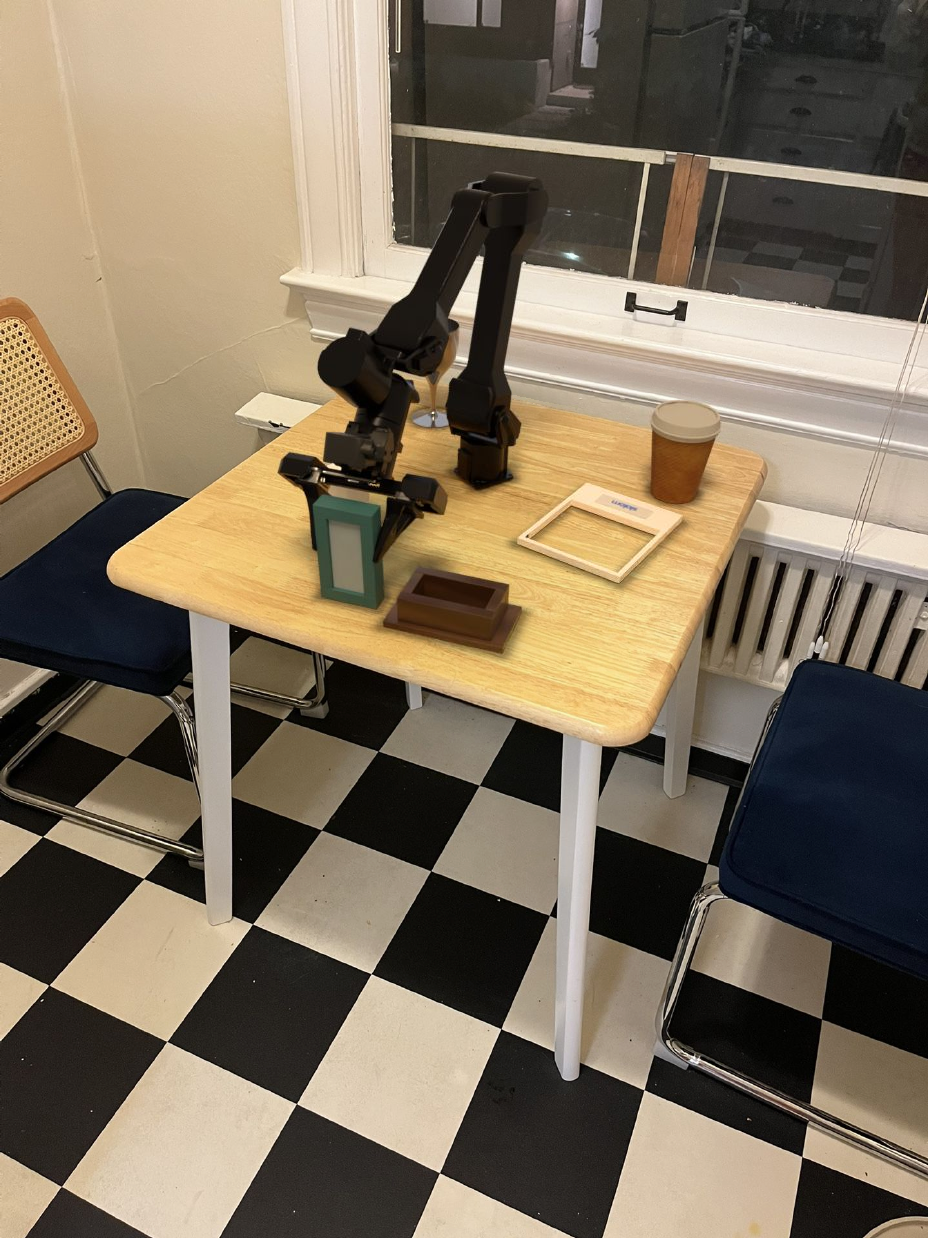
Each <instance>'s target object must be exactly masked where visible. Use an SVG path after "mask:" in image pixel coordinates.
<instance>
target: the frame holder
mask: <svg viewBox="0 0 928 1238" xmlns="http://www.w3.org/2000/svg"><path fill="white" fill-rule="evenodd" d="M509 599H510V584H509V583H506V582H501V581H495V580H492V579H486V578H481V577H476V576H471V575H467V574H461V573H458V572H452V571H447V570H443V569H438V568H433V567H428V566H423V565H417V567H416V568H415V570H414V571H413V573H412V575H410V577H409V579H408V581H407V582H406V583H405V585H404V587H403V588H402V589H401V591H400V592H399V594H398V596H397V597H396V600H395V602H394V604H393V606H392V607H391V609H390V610H389V612H388V613H387V614H386V616H385V618H384V619H383V621H382V625H383V627H384V628H389V629H393V630H397V631H401V632H407V633H411V634H415V635H419V636H424V637H428V638H433V639H437V640H442V641H446V642H450V643H455V644H459V645H464V646H467V647H471V648H472V647H473V648H476V649H480V650H486V651H491V652H495V653H499V654H503V653H504V650H505V648H506V646H507V644H508V641H509V639H510V638H511V636H512V633H513V631H514V629H515V627H516V625H517V623H518V620H519V619H520V616H521V614H522V612H523V607H522V606H521V605H516V604H511V603H509Z"/></svg>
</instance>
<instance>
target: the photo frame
mask: <svg viewBox="0 0 928 1238" xmlns="http://www.w3.org/2000/svg"><path fill="white" fill-rule="evenodd" d="M571 506H572V507H575V508H577V509H580V510H583V511H586V512H588V513H589V512H590V513H591V514H595V515H598V516H600V517H603V518H606V519H608V520H612V521H613V522H617V523H620V524H622V525H625V526H629V527H630V528H634V529H637V530H640V531H642V532H645V533H648V534H651V535H654V537H653V538H652V539H651V540H650V541H649V542H648V543H647V544H646V545H644V546H643V547H642V548H641V549H640V551H639V552H637V554H635V556H633V557H632V558H631V559H630V560H629V561H628V562H627V563H626V564H625V565H624V566H623V567H622V568H621V569H620V570H619V571H618V572H617V571H614V570H611V569H609V568H607V567H604V566H601V565H599V564H596V563H593V562H590V561H588V560H585V559H583V558H581V557H579V556H575V555H573V554H570V553H568V552H565V551H562V550H559V549H557V548H555V547H551V546H549V545H547V544H544V543H541V542H539V541H536V540H534V539H531V538H533V537H534V536H535V535H536V534H538V533H539V532H540V531H542V529H544V528H545V527H546V526H547V525H549V524H550V523H551V522H552V521H554V520H555V519H556V518H557V517H559V516H560V515H561V514H562V513H563V512H565V511H566V510H567V509H569V508H570V507H571ZM683 517H684V515H683V514H681V513H677V512H674V511H672V510H668V509H665V508H663V507H659V506H657V505H654V504H651V503H648V502H645V501H642V500H639V499H636V498H633V497H630V496H627V495H626V494H625V495H624V494H622V493H619V492H617V491H612V490H610V489H607V488H603V487H601V486H598V485H595V484H592V483H589V482H586V483H584V484H583V485H582V486H581V487H580V488H578V489H577V490H576V491H575V492H573V493H572V494H571V495H569V496H568V497H567V498H566V499H564V500H563V501H562V502H560V503H559V504H558V505H556V507H554V508H553V509H552V510H551V511H549V512H548V513H547V514H545V515H544V516H542V518H540V519H539V520H537V522H535V523H534V524H533V525H531V526H530V527H528V529H527V530H525V531H524V532H523V533H521V534H520V535H519V536H517V540H516V545H519V546H522V547H525V548H527V549H530V550H531V551H535V552H537V553H540V554H543V555H544V556H548V557H550V558H552V559H554V560H557V561H561V562H563V563H566V564H567V565H570V566H573V567H576V568H578V569H581V570H583V571H586V572H588V573H590V574H594V575H596V576H598V577H601V578H604V579H606V580H609V581H611V582H615V583H616V584H620V583H621V582H622V581H624V579H625V578H627V576H628V575H629V574H630V573H631V572H633V570H634V569H635V568H636V567H638V565H639V564H640V563H641V562H642V561H643V560H644V559H646V558H647V556H648V555H650V554H651V552H652V551H654V550H655V548H657V547H658V546H659V545H660V544H661V543H662V542H663V541H664V540H665V539H666V538H667V537H668V536H669V535H670V534H671V533H672V532H673V531H674V530H675V529H676V528H677V527H678V526H679V525H680V524H681V523H682V522H683Z"/></svg>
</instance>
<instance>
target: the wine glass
mask: <svg viewBox="0 0 928 1238" xmlns="http://www.w3.org/2000/svg"><path fill="white" fill-rule="evenodd" d="M448 326H449V335H450V338H449V341H448V344H447V346H446V349H445V352H444V357H443V360H442V362H441V364H440V366H439V367H438V368H437V370H436V371H435V372H434V373H433V374H432V375H430V374H429V375H428V376H425V377H424V379H425V380H426V383H427V384H428V388H429V395H430V408H429V407H428V408H422V409H419V410H416V411H415V412H413V413H412V414H411V416H410V420H411V422H412V423H413V424H416V426H419V427H423V428H429V429H430V428H431V429H438V428H444V427H449V424H448V420H447V417H446V409H444V408H439V407H437V405H436V403H437V390H438V385H439V383H440V381H441V379H442V378H443V376H444V375H445V374H446V373H447V372H448V371H449V370H450V369H451V368H452V366H453V365H454V363H455V361H456V358H457V354H458V350H459V344H460V323H458V322H457V321H456V320H454V319H452V318H450V317H448Z"/></svg>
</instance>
